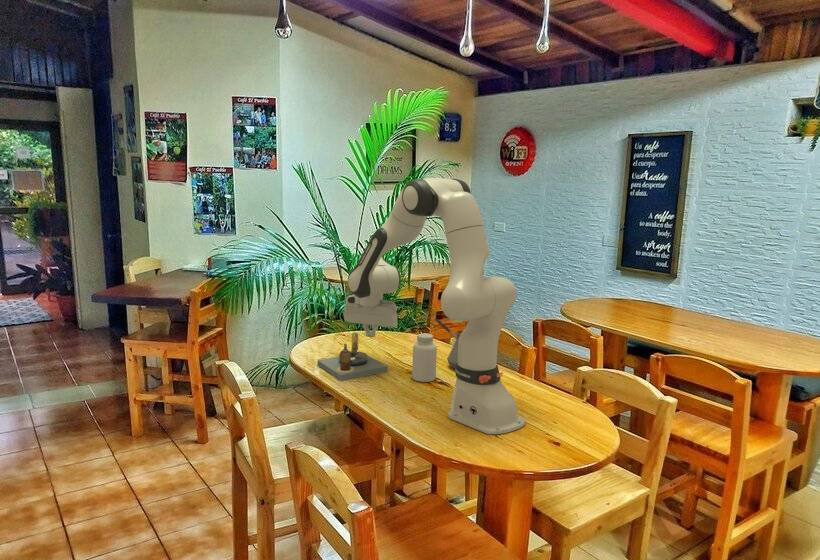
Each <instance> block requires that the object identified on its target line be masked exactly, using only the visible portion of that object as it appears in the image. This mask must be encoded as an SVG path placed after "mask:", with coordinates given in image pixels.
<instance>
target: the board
mask: <svg viewBox="0 0 820 560" xmlns="http://www.w3.org/2000/svg"><path fill="white" fill-rule="evenodd" d="M317 366H318V367H319V368H321V369H322V370H324V371H325V372H326V373H328V374H329V375H331V376H333V377H334V378H335V379H337V380H339V381H340V382H342V381H343V382H344V381H348V380H353V379H358V378H362V377H367V376H372V375H376V374H382V373H387V372H388V369H389V367H388V365H387V364H384V363H383V362H381V361H379V360H378V359H376V358H373V356H370V355H368V362H367V363H366V364H363V365H358V366H350V370H348V371H342V370H340V363H339V355H337V356H333V357H327V358H322V359H317Z"/></svg>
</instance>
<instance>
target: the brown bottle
mask: <svg viewBox="0 0 820 560" xmlns="http://www.w3.org/2000/svg"><path fill="white" fill-rule="evenodd" d="M347 344H348V343H343V349H342V350H341V351H340V352H339V355H340V370H342V371H348V370H350V361H351V351H350V350H349V349H348V345H347Z"/></svg>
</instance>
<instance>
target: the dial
mask: <svg viewBox="0 0 820 560" xmlns="http://www.w3.org/2000/svg"><path fill="white" fill-rule="evenodd" d="M350 352H351V361H350V366H358V365H363V364H366V363H367V362H368V356H369V355H368V354H367V353H366V352H363V351H359V333H358V332H352V333H351V351H350ZM338 356H339V363H340V354H339V355H338Z"/></svg>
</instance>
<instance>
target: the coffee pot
mask: <svg viewBox="0 0 820 560" xmlns="http://www.w3.org/2000/svg"><path fill="white" fill-rule="evenodd" d="M432 321H433V322H432V324H433V323H435V324H436V323H438V324H439V325H440V326H441V327H442V328H443V329H444V330H445V331H447V332H448V333H449V334H450V335H451V336H452V337H453V338H455V339H456V340H455V342H454V344H453V346H452V348H451V350H450V352H449V354H448V357H447V362H448V364H449V365H450V366H451V367H452V369H454V370H455V368H456V363H457V362H458V340H459V336H460V334H461V333H462V332H463V330H464V329H463V330H462V329H460V330H456V331H455V332H452V330H451V329H450V328H449V327H448V326H447V325H446V324H444V323H443V322H442V320H439V319H438V318H434V320H432ZM434 321H435V322H434Z"/></svg>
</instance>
